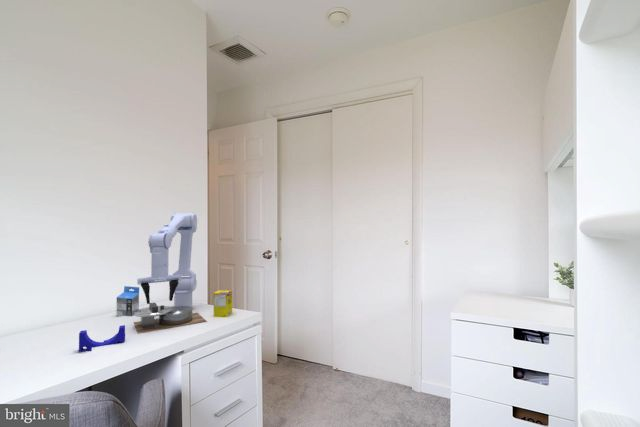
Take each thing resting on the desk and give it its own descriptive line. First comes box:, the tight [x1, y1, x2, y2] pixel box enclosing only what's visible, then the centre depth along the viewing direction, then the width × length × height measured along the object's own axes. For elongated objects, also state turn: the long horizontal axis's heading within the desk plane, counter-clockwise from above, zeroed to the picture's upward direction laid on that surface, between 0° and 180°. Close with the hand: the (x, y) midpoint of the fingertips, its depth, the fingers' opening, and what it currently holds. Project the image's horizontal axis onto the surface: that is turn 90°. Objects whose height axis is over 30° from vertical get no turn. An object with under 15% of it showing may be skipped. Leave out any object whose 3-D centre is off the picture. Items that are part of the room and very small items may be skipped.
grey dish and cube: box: [140, 305, 193, 328], centre depth 127 cm, size 12×18×4 cm, turn 124°
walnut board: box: [133, 312, 208, 335], centre depth 128 cm, size 16×24×1 cm, turn 124°
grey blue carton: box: [116, 285, 140, 318], centre depth 140 cm, size 9×4×12 cm, turn 71°
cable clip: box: [78, 325, 126, 354], centre depth 105 cm, size 12×4×6 cm, turn 118°
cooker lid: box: [134, 302, 172, 318], centre depth 125 cm, size 13×13×3 cm
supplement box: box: [213, 289, 233, 318], centre depth 138 cm, size 6×6×11 cm
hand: (159, 301), depth 122 cm, fingers open, 7 cm apart
